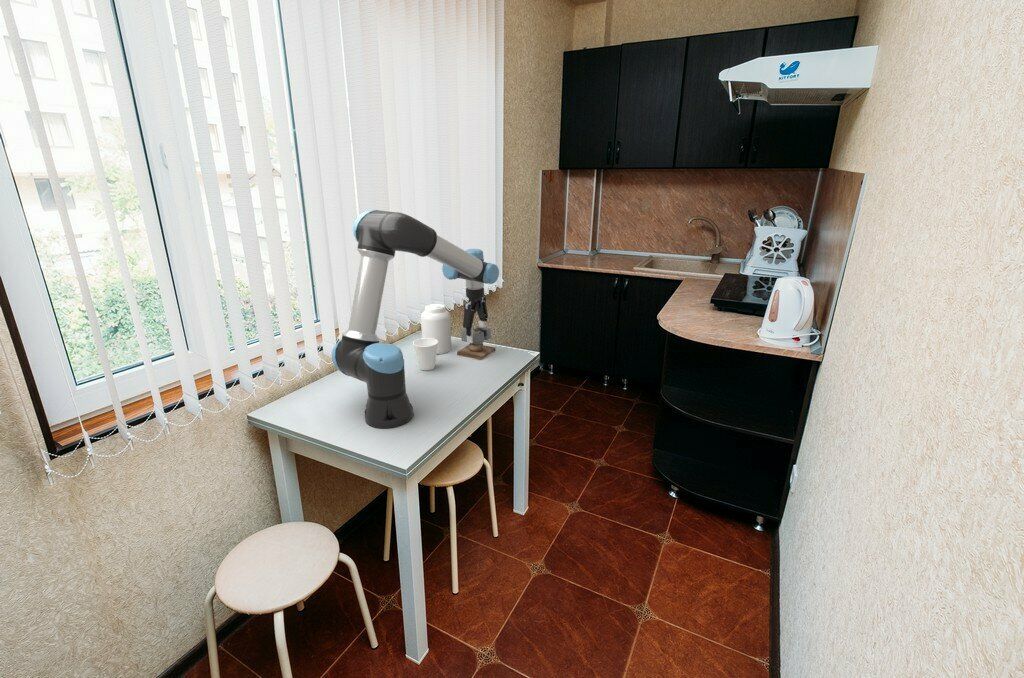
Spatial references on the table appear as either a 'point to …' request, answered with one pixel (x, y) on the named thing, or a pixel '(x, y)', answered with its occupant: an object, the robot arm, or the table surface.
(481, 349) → the post fixture
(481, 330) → the grey split frame
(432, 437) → the table surface
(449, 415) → the table surface
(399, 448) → the table surface
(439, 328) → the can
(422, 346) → the cup
